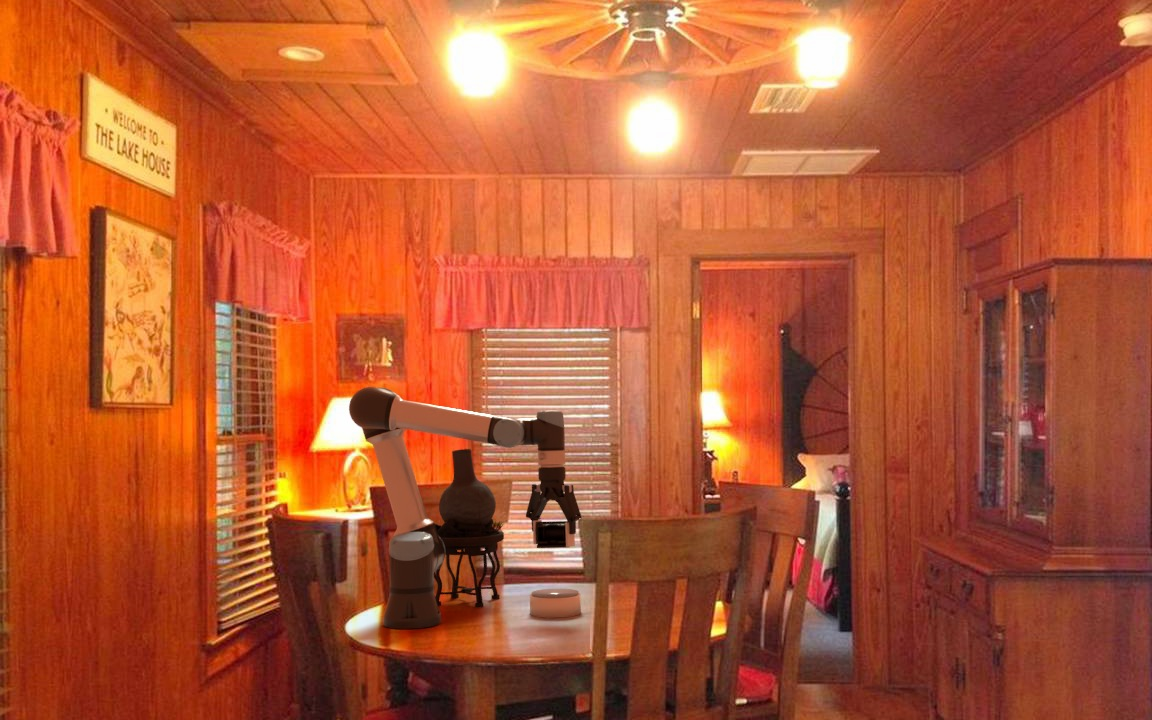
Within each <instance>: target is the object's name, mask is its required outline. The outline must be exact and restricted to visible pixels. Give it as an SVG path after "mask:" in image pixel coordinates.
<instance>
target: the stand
mask: <svg viewBox="0 0 1152 720" xmlns="http://www.w3.org/2000/svg"><path fill="white" fill-rule="evenodd" d="M581 595H582V594H581V593H580V592H579V590H577V589H572V588H544V589H537V590H533V591H532V592H531V593H530V594H529V615H531V616H533V617H539V618H549V619H550V618H553V619H554V618H566V617H575V616H577V615H580V614H581V613H582V603H581V600H582V599H581V598H582V597H581Z"/></svg>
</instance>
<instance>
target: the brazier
mask: <svg viewBox="0 0 1152 720" xmlns="http://www.w3.org/2000/svg"><path fill="white" fill-rule="evenodd" d="M451 454H452V465H453V479H452V482H451V483H450V485H448V486H447V487H446V488H445V490H444V491H443V492H442V494H441V497H440V499H439V503H438V511H439V515H440V517H441V520H442V521H443V522H444V523H443V524H437V523H435V526H436V530H437V533H438V535H439V536H440V538H441V539H442V541H443V542H444V545H445V551H446V552H445V559H446V568H447V570H448V571H447V572H448V573H449V574H450V577H451V578H452V579H451V580H452V588H451V591H446V592H445V591H443V582H442V579H441V576H440V573H441V572H440V571H441V568H442V567H443V563H444V562H443V563H442V565H441V567H440V568H439V569H438V570H437V571H435V572H434V581H436V584H437V589H436V593H435V598H436V601H437V604H438V607H440V606H441V607H442V601H441V600H440V599H441V595H442V596H443V595H450V598H451V599H459V598H460V595H459V594H465V595H469V596H475V598H476V599H475V600H476V602H474V607H475V608H483V607H484V602H483V593H482V590H492V593H493V594H491V600H500V594H499V593H498V590H497V587H496V583H495V580H496V577H497V575H498V574H499V572H500V568H501V563H500V560H499V557H498V554H497V551H498V549H499V548H498V547H499V546H498V545H499V544H498V543H499V542H502V541H503V540H504V539H505V533H504V532H505V531H504V532H503V531H502V530H501V528H502V527H503V524H504V523H503V522H501V523H500V521H498V523H497V521H494V519H493V517H494V514H495V513H496V512H495V511H496V507H497V503H496V501H497V500H496V498H495V495H494V493H493V492H492V490H491V488H490V487H489V486H488V485H487V484H485V483H484V482H482V481H480V480H479V479H478V478H477V476H476V473H475V470H474V469H475V468H474V463H473V455H472V449H471V448H465V449H456V450H452V452H451ZM496 523H497V525H496ZM495 527H496V528H495ZM481 548H482V549H484V550H482V549H481ZM492 554H493V556H494V557H493V556H492ZM450 556H459V558H458V562H457V564H456V573H455V574H454V573H453V571H452V568H451V564H450V563H451V562H450ZM464 556H467V558H468V562H469V566H470V568H471V572H472V576H473V584H474V587H467V586H462V585H461V586H460V585H459V583H460V581H459V580H460V571H461V570H460V568H461V563H462V560H463V557H464ZM480 556H482V557H483V558H482V559H483V561H482V562H483V573H482V575H481V578H480V580H479V581H478V579H477V573H476V570H475V565H474V563H473V560H472V559H473V558H472V557H480ZM487 557H488V559H489V560H490V563H491V573H490V576H489V581H490V582H489V583H490V586H482V584H483V582H484V580H485V578H486V575H487V571H488V561H487V560H488V559H487ZM458 589H460V590H458ZM442 591H443V592H442ZM473 591H474V592H473Z"/></svg>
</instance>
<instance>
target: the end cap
mask: <svg viewBox="0 0 1152 720" xmlns="http://www.w3.org/2000/svg"><path fill="white" fill-rule="evenodd" d="M566 522H567V520H562V521H561V520H560V521H558V520H557V521H556V520H555V521H542V522H536V530H535V531H536V544H535V545H536V549H556V548H557V549H558V548H563V549H564V548H568V547H566V528H565V523H566Z"/></svg>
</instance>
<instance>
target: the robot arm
mask: <svg viewBox="0 0 1152 720" xmlns="http://www.w3.org/2000/svg"><path fill="white" fill-rule="evenodd" d="M348 411H349V416H350V418H351V420H352V421H353V422H354V424H356V426H358V427H360V428H361V430H362V432H363V435H364V439H365V442H367V443H369V444H371V445H372V446H373V451H374V453H375V456H376V460H377V464H378V465H379V470H380V473H381V475H382V476H381V477H382V480H383V482H384V483H383V484H384V487H385V490H386V494H387V496H388V500H389V503H390V506H391V510H392V514H393V517H394V521H395V524H396V530H395V532H394V533H393V536H392V537H391V538H390V539H389V542H388V543H389V544H388V545H389V546H388V554H389V555H388V561H389V562H388V565H389V568H388V571H389V595H388V599H387V602H386V607H385V611H384V614H383V616H382V617H383V618H382V622H383V623H382V626H383V627H386V628H389V629H399V630H400V629H401V630H402V629H403V630H406V629H408V630H409V629H411V630H412V629H422V628H429V627H434V626H437V625H440V624H441V623H442V613H441V611H440V608H439V607H440V606H438V604H437V601H436V598H435V596H436V594H435V578H434V572H435V573H436V571H437V570H438V569H439V568H440V567H441V568H442V566H443V564H442V563H444V560H445V559H446V555H445V552H446V551H445V545H444V542H443V541H442V539H441V538H440V536H439V535H438V533H437V530H436V526H435V524H436V523H435V521H434V520H432V519H430V518H428V515H427V513H426V508H425V506H424V503H423V500H422V496H421V493H420V489H419V487H418V483H417V480H416V479H417V478H416V476H415V472H414V469H413V467H412V466H413V465H412V463H411V459H410V455H409V453H408V449H407V446H406V443H405V439H404V434H405V431H406V430H410V431H415V432H421V433H428V434H434V435H439V436H444V437H451V438H456V439H462V440H468V441H474V442H479V443H485V444H491V445H495V446H497V447H503V448H510V449H511V448H514V447H516V446H519V447H520V446H537V462H538V466H540V467H538V469H537V472H538V475H537V476H538V481H540V483H534V484H532V485H531V495H530V498H529V501H528V505H527V509H526V513H525V517H526V518H528V519H530V520H531V532H532V537H533V538H532V539H533V545H537V544H536V531H535V530H536V522H543V521H542V518H541V517H542V515H543V512H544V510H545V508H546V506H547V505H548V503H549V501H555V502H556V503H557V505H558V506H559V509H560V510H561V512H562V513H563V516H564V517H565V519H566V521H567V522H566V523H565V528H566V547H567V548H570V547H575V546H576V542H575V540H576V539H575V537H576V536H575V535H576V533H577V527H576V526H577V521H580V520H579V518H581V519H582V514H581V511H580V508H579V505H578V501H577V499H576V495H575V491H574V485H573V484H565V480H566V477H567V475H566V467H565V466H564V465H566V451H565V450H566V448H565V437H566V436H565V421H564V420H565V419H564V413H563V412H562V411H561V410H558V409H557V410H538V411H537V413H536V416H535V417H532V418H512V417H504V416H497V415H492V414H487V413H480V412H474V411H471V410H470V411H469V410H462V409H459V408H457V409H456V408H451V407H446V406H439V405H433V404H429V403H422V402H419V401H410V400H405V399H403V398H401V396H400V395H398V394H397V393H395V391H392V390H391V389H389V388H386V387H376V386H375V387H374V386H367V387H363V388H361V389H359V390H358V391H356V392H355V393H354V394H353V396H352V397H351V399H350V402H349V405H348ZM441 565H442V566H441Z"/></svg>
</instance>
